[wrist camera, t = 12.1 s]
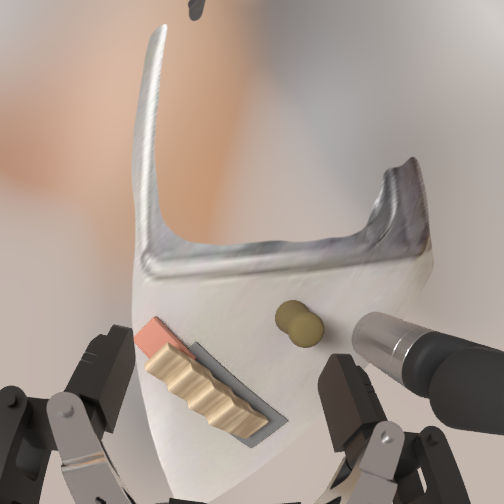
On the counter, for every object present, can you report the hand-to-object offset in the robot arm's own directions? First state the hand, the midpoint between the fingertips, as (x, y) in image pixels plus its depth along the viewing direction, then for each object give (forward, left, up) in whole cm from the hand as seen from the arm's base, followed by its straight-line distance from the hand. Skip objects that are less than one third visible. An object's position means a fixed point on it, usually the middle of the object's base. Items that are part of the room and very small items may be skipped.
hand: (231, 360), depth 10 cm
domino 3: (-4, +21, -35) cm, 41 cm away
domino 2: (+1, +19, -35) cm, 39 cm away
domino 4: (-8, +24, -35) cm, 43 cm away
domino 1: (+4, +17, -35) cm, 39 cm away
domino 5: (-12, +26, -35) cm, 45 cm away
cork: (-12, +3, -36) cm, 38 cm away
